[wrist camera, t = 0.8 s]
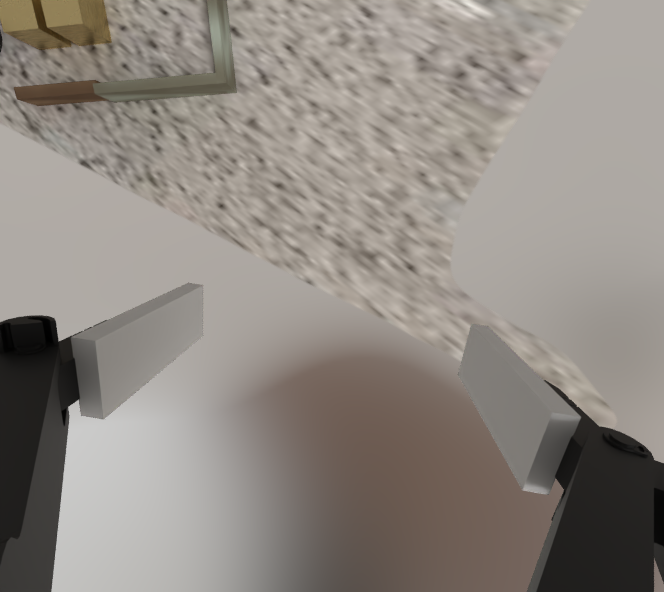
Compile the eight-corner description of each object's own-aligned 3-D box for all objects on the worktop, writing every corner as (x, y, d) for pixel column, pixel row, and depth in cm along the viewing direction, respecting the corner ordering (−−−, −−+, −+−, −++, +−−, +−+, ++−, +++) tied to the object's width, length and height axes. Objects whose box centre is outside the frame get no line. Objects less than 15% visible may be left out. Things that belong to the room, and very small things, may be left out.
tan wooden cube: (30, 9, 36) (-9, -15, 32) (62, 5, 36) (26, -19, 32) (40, 50, 37) (3, 32, 33) (72, 47, 37) (38, 28, 33)
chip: (70, 4, 35) (35, -21, 32) (104, 0, 35) (72, -25, 31) (80, 46, 37) (47, 27, 33) (112, 43, 36) (82, 23, 32)
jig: (-4, -57, 34) (-37, -81, 32) (217, -87, 32) (202, -116, 29) (39, 108, 39) (13, 100, 36) (236, 92, 36) (225, 82, 33)
